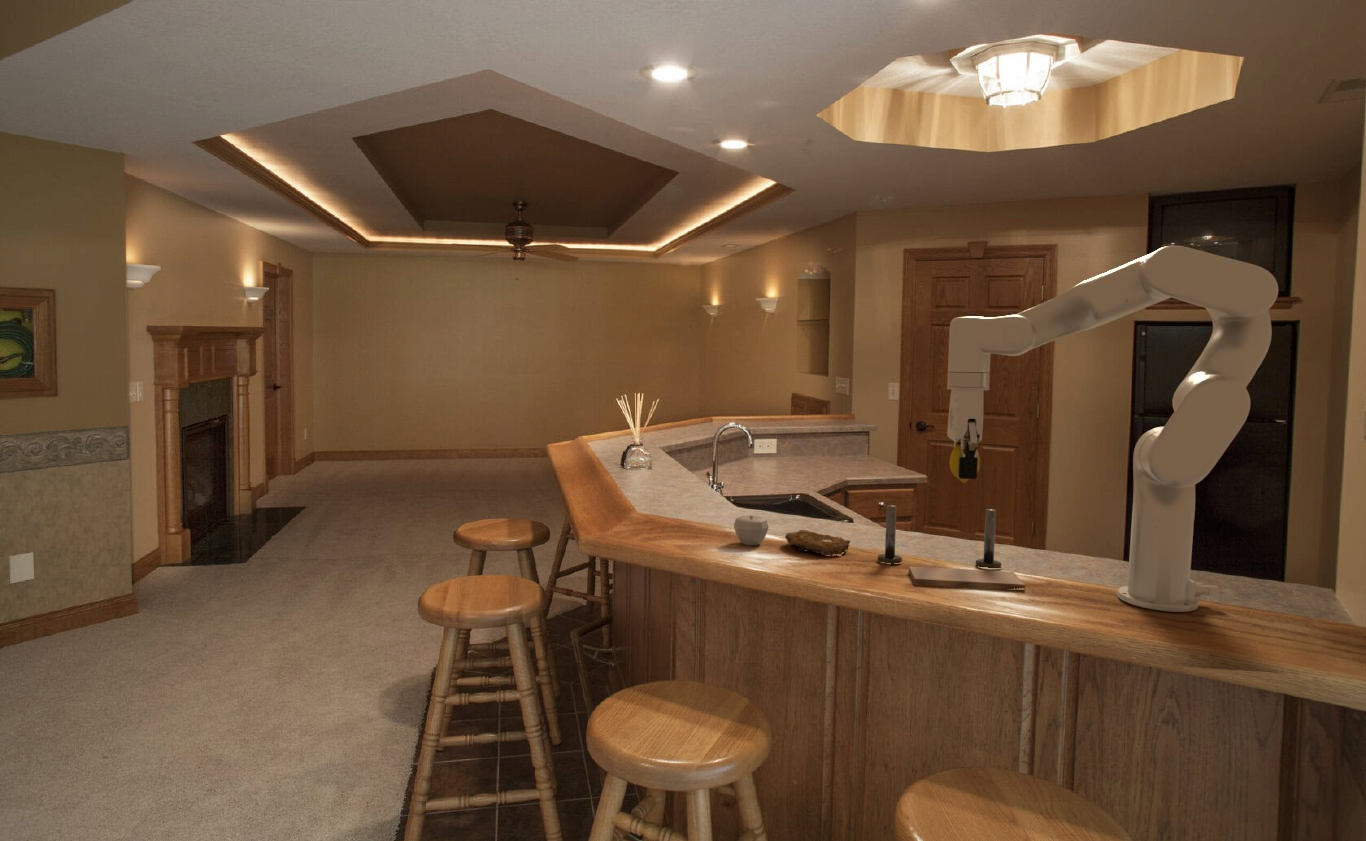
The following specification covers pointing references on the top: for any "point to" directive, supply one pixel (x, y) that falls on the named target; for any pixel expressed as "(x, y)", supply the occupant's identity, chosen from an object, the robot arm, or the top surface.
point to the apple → (751, 529)
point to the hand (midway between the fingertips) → (964, 475)
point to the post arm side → (989, 542)
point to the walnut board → (965, 578)
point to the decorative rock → (817, 542)
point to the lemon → (955, 462)
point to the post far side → (890, 538)
